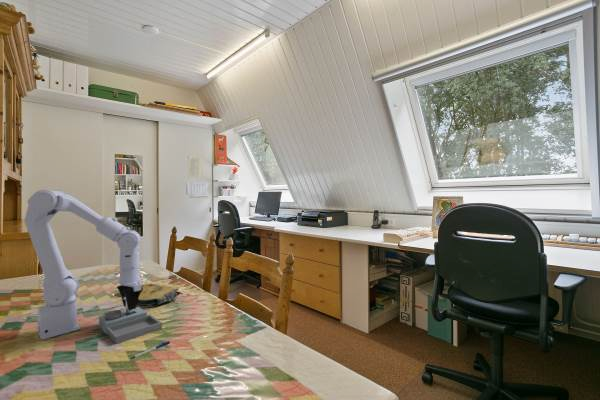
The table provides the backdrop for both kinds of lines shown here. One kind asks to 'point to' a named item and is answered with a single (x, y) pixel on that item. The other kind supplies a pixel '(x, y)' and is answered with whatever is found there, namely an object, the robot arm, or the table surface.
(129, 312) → the lock pin
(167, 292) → the pulley block
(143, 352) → the ballpoint pen
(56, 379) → the table surface
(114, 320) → the block
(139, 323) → the tray
